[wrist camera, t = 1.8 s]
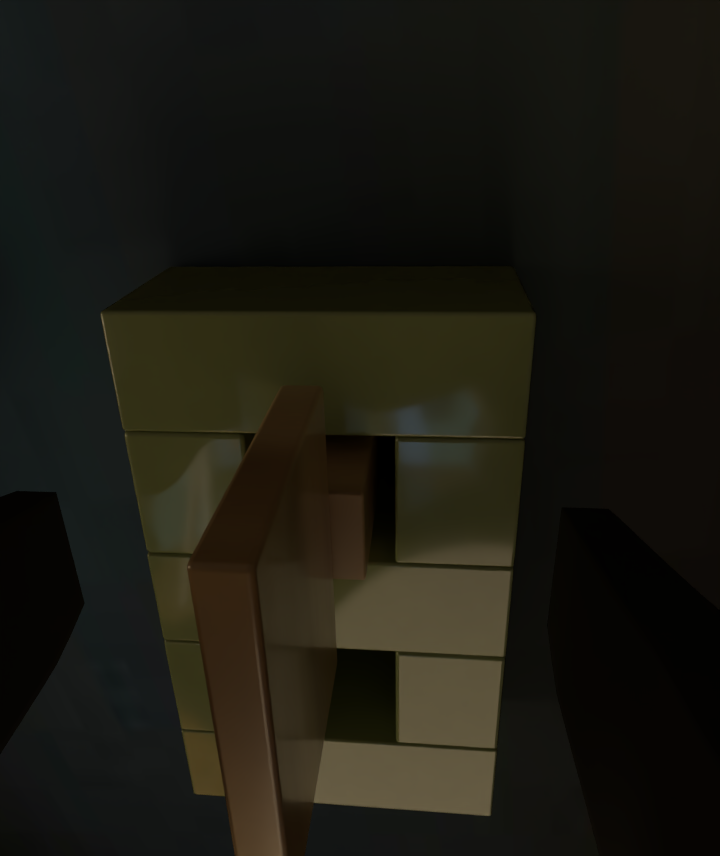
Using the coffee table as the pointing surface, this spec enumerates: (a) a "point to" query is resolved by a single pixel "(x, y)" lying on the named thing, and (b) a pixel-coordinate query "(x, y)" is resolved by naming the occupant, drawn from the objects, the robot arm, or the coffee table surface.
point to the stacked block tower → (396, 501)
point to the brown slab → (280, 611)
